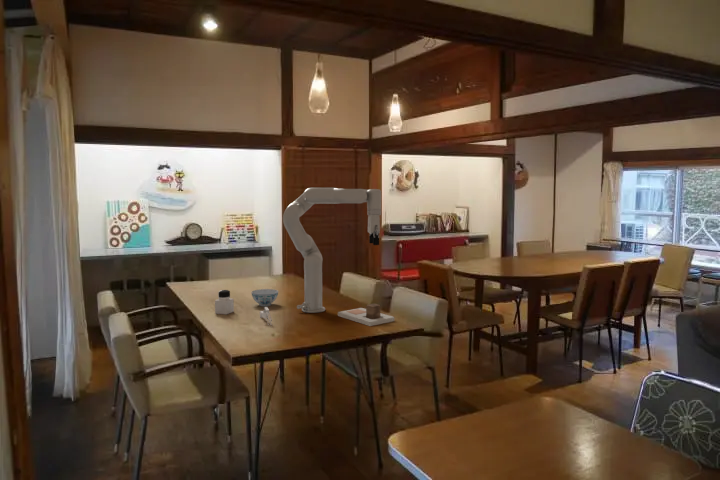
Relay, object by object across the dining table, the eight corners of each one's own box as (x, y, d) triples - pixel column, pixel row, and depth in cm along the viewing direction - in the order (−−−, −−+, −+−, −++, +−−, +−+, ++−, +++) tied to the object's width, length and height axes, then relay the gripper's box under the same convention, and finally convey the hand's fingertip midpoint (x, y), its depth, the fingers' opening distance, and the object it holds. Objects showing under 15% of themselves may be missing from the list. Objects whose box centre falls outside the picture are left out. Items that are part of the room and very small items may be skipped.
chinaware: (272, 308, 294) (272, 294, 293) (247, 307, 297) (247, 293, 296) (282, 302, 308) (282, 289, 308) (257, 301, 311) (257, 288, 311)
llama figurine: (270, 336, 261) (262, 315, 276) (272, 317, 256) (264, 297, 271) (266, 337, 261) (258, 315, 275) (268, 318, 256) (260, 297, 270)
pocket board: (370, 326, 258) (370, 321, 257) (337, 315, 278) (337, 311, 278) (394, 320, 268) (394, 316, 268) (361, 311, 288) (361, 307, 288)
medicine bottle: (234, 311, 286) (233, 289, 285) (226, 314, 279) (226, 292, 278) (222, 310, 289) (222, 288, 287) (214, 313, 282) (214, 291, 281)
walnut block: (372, 322, 265) (372, 306, 264) (366, 320, 268) (366, 304, 268) (380, 321, 268) (380, 305, 267) (373, 319, 272) (373, 303, 271)
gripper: (364, 211, 293) (364, 242, 295) (370, 213, 276) (370, 246, 278) (377, 211, 295) (377, 242, 296) (384, 213, 278) (384, 245, 280)
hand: (374, 244), depth 287 cm, fingers open, 9 cm apart
